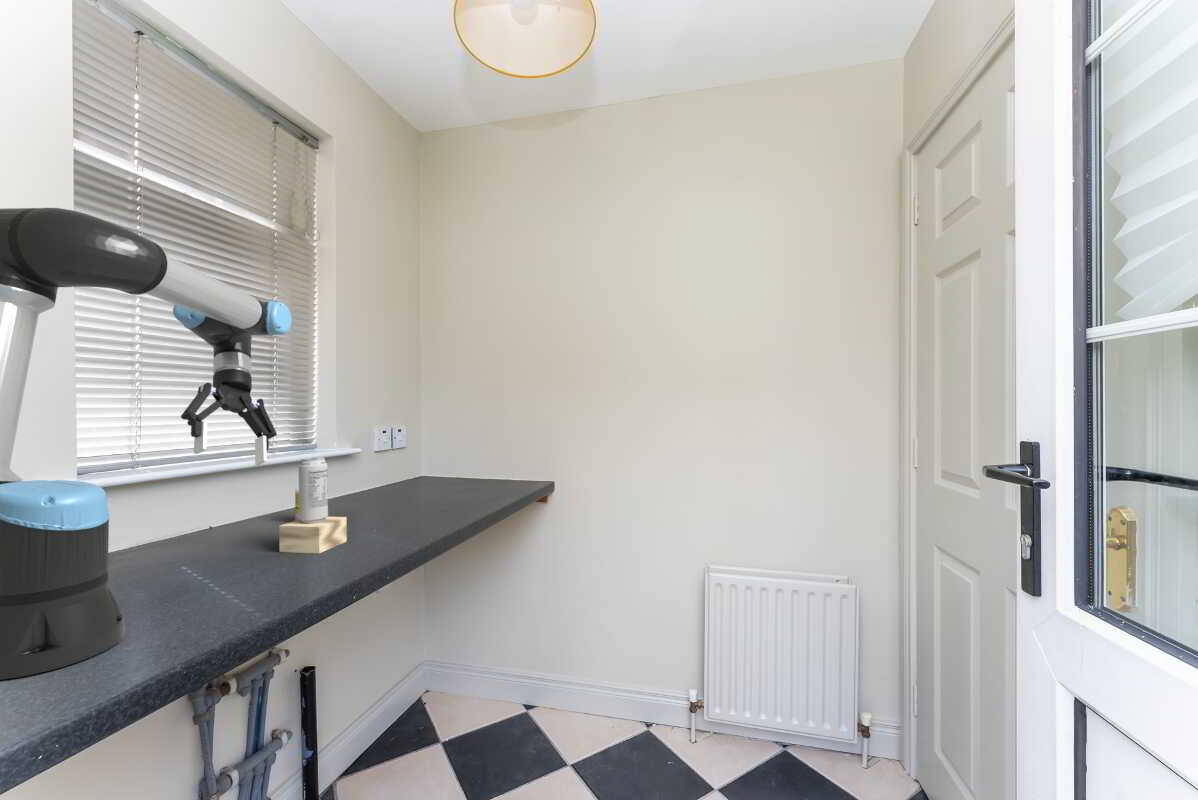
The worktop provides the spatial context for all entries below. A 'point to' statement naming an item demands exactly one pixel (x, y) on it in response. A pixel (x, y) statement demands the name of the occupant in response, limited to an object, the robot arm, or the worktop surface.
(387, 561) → the worktop surface
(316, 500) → the energy drink can
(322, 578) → the worktop surface
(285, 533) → the oak block
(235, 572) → the worktop surface
